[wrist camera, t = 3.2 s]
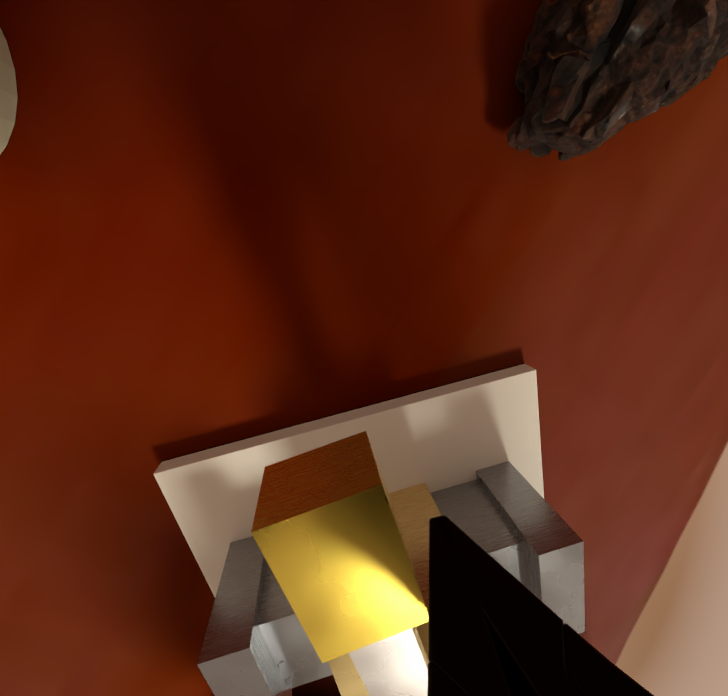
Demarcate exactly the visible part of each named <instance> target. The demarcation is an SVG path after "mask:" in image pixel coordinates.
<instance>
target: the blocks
mask: <svg viewBox="0 0 728 696" xmlns="http://www.w3.org/2000/svg"><path fill="white" fill-rule="evenodd" d="M476 475H477V479H476V480H473V481H469V482H466V483H462V484H459V485H456V486H452V487H449V488H446V489H442V490H439V491H435V492H432V493H430V491H429V489H428V487H427V485H426V483H422V484H418V485H415V486H411V487H408V488H405V489H401V490H398V491H394V492H391V493H388V494H389V497H390V500H391V503H392V506H393V509H394V511H395V514H396V517H397V520H398V523H399V525H400V528H401V531H402V534H403V537H404V540H405V542H406V545H407V548H408V551H409V554H410V558H411V561H412V564H413V567H414V570H415V573H416V576H417V579H418V582H419V586H420V589H421V592H422V595H423V598H424V601H425V604H426V607H427V610H428V594H429V519H430V518H433V517H437V516H440V515H445V516H447V517H448V518H449V519H450V520H451V521H453V522H454V523H455V524H456V525H457V526H458V527H459V528H460V529H461V530H463V531H464V532H465V533H466V534H467V535H468V536H469V537H470V538H472V539H473V540H474V541H475V542H476V543H477V544H478V545H479V546H481V547H482V548H483V549H484V550H485V551H486V552H487V553H488V554H489V555H491V556H492V557H493V558H494V559H495V560H496V561H497V562H498V563H500V564H501V565H502V566H503V567H504V568H505V569H506V570H507V571H508V572H510V573H511V574H512V575H513V576H514V577H515V578H516V579H517V580H519V581H520V582H521V583H522V584H523V585H524V586H525V587H526V588H528V589H529V590H530V591H531V592H532V593H533V594H534V595H535V596H536V597H538V598H539V599H540V600H541V601H542V602H543V603H544V604H545V605H547V606H548V607H549V608H550V609H551V610H552V611H553V612H554V613H556V614H557V615H558V616H559V617H560V618H561V619H562V620H563V622H564V624H565V623H566V624H568V625H569V626H570V627H571V628H572V629H574V630H575V631H576V632H577V633H578V634H579V633H582V632H585V609H584V552H583V541H582V539H581V538H580V537H579V536H578V535H577V534H576V533H575V532H574V531H573V530H572V529H571V528H570V527H569V525H568V524H567V523H566V522H565V521H564V520H563V519H562V518H561V517H560V516H559V515H558V514H557V513H556V511H555V510H554V509H553V508H552V507H551V506H550V505H549V504H548V503H547V502H546V501H545V500H544V498H543V497H542V496H541V495H540V494H539V493H538V492H537V491H536V490H535V489H534V488H533V487H532V486H531V484H530V483H529V482H528V481H527V480H526V479H525V478H524V477H523V476H522V475H521V474H520V473H519V472H518V470H517V469H516V468H515V467H514V466H513V465H512V464H511V463H510V462H509V461H507V462H504V463H500V464H497V465H494V466H490V467H487V468H483V469H480V470H476ZM416 629H417V631H418V634H419V636H420V639H421V642H422V644H423V647H424V650H425V652H426V655H427V657H428V622H426V623H424V624H421V625H419V626H416ZM197 665H198V667H199V669H200V671H201V672H202V674H203V676H204V678H205V679H206V681H207V683H208V685H209V686H210V688H211V690H212V692H213V693H214V695H215V696H292V688H294V687H297V686H300V685H303V684H306V683H309V682H312V681H315V680H318V679H321V678H324V677H327V676H330V675H333V676H334V679H335V681H336V684H337V686H338V689H339V692H340V694H341V696H370V695H369V693H368V691H367V689H366V687H365V685H364V683H363V681H362V679H361V677H360V675H359V673H358V671H357V669H356V667H355V665H354V663H353V661H352V659H351V657H350V655H349V653H347V654H345V655H342V656H340V657H337V658H335V659H332V660H329V661H327V662H324V663H322V662H321V660H320V658H319V656H318V655H317V653H316V651H315V649H314V647H313V645H312V644H311V642H310V640H309V638H308V636H307V634H306V632H305V631H304V629H303V627H302V625H301V623H300V621H299V620H298V618H297V616H296V614H295V612H294V610H293V609H292V607H291V605H290V603H289V601H288V599H287V598H286V596H285V594H284V592H283V590H282V588H281V587H280V585H279V583H278V581H277V579H276V577H275V576H274V574H273V572H272V570H271V568H270V566H269V565H268V563H267V561H266V559H265V557H264V555H263V554H262V552H261V550H260V548H259V546H258V544H257V542H256V541H255V539H254V537H253V536H251V537H248V538H244V539H241V540H238V541H234V542H231V543H230V546H229V550H228V553H227V557H226V561H225V564H224V568H223V572H222V575H221V579H220V583H219V586H218V590H217V594H216V597H215V601H214V605H213V608H212V612H211V616H210V619H209V623H208V626H207V630H206V634H205V637H204V641H203V645H202V648H201V652H200V656H199V659H198V663H197Z"/></svg>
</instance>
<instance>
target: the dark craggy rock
mask: <svg viewBox="0 0 728 696" xmlns="http://www.w3.org/2000/svg"><path fill="white" fill-rule="evenodd" d="M726 55H728V0H543V1H542V3H541V5H540V7H539V9H538V11H537V13H536V16H535V20H534V24H533V29H532V31H531V33H530V35H529V36H528V38H527V40H526V41H525V43H524V50H523V57H522V59H521V60H520V62H519V64H518V67H517V71H516V75H515V79H516V81H515V87H516V88H517V89H518V90H519V91H521V92H522V93H524V94H525V96H524V104H525V111H524V115H523V116H520V117H518V118H517V119H516V120H515V122H514V123H513V124H512V126H511V127H510V129H509V131H508V133H507V140H508V144H509V146H510V147H515V148H516V149H518V150H522V151H524V150H525V149H527V148H528V147H529V149H530V154H531V155H533V156H536V157H538V158H539V157H542V156H545V155H549V153H550V151H551V149H553V150H557V151H559V160H561V161H565V160H568V159H569V158H572V157H574V156H578V155H583V154H586V153H588V152H590V151H593V150H595V149H597V148H598V147H600V146H601V145H602V144H603V143H604V142H605V141H606V140H607V139H609V138H610V137H612V136H614V135H615V134H616V133H617V132H619V131H620V130H621V129H622V128H623V127H624V126H625V125H626V124H627V123H630V122H634V121H637V120H639V119H641V118H643V117H645V116H647V115H649V114H651V113H654V112H656V111H657V110H658V108H659V107H664V106H669V105H671V104H672V103H673V102H675V101H676V100H677V99H679V98H680V97H681V96H683V95H684V94H685V93H687V92H688V91H689V90H691V89H692V88H693V87H695V86H696V85H697V84H698V83H700V82H701V81H703V80H705V79H707V78H709V76H710V73H711V71H713V70H714V69H715V67H716V64H717V62H718V60H720V59H721V58H723V57H725V56H726Z"/></svg>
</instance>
